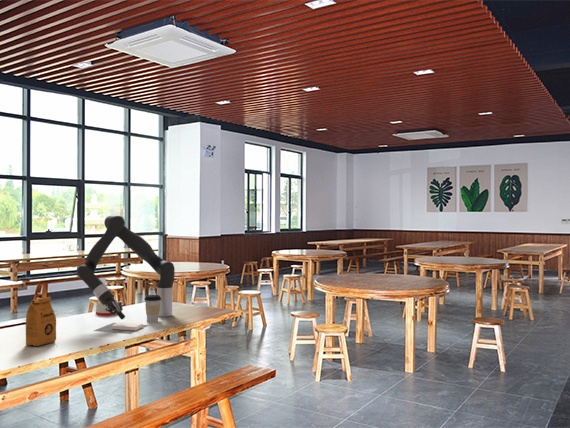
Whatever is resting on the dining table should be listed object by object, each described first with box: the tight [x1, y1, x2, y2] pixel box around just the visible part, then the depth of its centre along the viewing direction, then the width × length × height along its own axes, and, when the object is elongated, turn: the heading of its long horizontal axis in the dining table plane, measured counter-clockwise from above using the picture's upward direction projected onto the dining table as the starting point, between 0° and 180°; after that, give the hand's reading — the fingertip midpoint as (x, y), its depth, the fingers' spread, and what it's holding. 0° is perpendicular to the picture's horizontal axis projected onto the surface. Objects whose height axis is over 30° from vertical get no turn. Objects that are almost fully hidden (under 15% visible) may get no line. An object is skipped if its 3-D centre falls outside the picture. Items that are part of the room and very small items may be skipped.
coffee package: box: [25, 296, 57, 347], centre depth 243 cm, size 10×12×22 cm
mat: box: [93, 322, 149, 335], centre depth 275 cm, size 22×20×1 cm
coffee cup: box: [144, 294, 161, 323], centre depth 293 cm, size 9×9×15 cm
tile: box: [112, 321, 144, 332], centre depth 274 cm, size 2×8×14 cm
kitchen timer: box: [95, 288, 120, 317], centre depth 314 cm, size 14×14×15 cm
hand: (123, 318), depth 275 cm, fingers closed
